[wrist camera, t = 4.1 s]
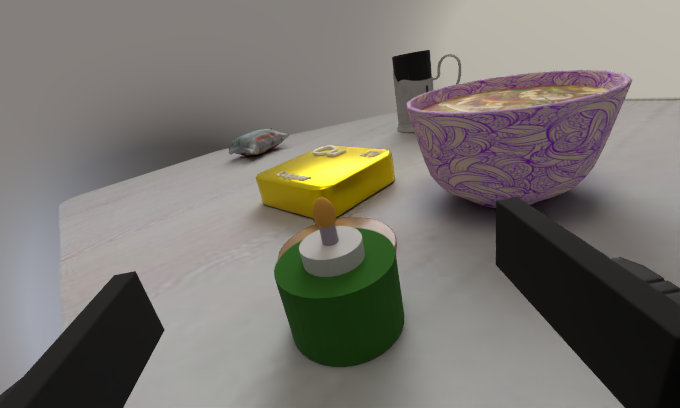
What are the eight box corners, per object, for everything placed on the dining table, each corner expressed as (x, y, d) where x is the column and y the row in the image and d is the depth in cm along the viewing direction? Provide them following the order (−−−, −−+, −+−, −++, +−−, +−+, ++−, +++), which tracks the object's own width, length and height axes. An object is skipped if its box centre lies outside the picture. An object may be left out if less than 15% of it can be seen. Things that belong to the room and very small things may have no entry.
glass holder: (406, 122, 82) (399, 54, 76) (468, 119, 74) (466, 43, 68) (390, 133, 75) (381, 59, 69) (456, 130, 67) (453, 47, 61)
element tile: (257, 203, 51) (248, 173, 49) (328, 168, 60) (323, 142, 58) (328, 224, 41) (320, 186, 39) (400, 178, 50) (397, 146, 48)
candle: (420, 349, 22) (403, 209, 18) (293, 379, 22) (247, 243, 18) (388, 275, 30) (371, 165, 26) (293, 297, 29) (261, 188, 25)
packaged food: (291, 144, 83) (286, 124, 81) (254, 161, 74) (247, 139, 72) (266, 144, 88) (261, 125, 86) (229, 160, 80) (222, 139, 78)
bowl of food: (479, 155, 52) (477, 75, 48) (647, 179, 37) (668, 63, 32) (381, 204, 43) (367, 110, 38) (551, 264, 27) (562, 117, 23)
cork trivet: (349, 211, 43) (349, 208, 43) (422, 243, 33) (422, 239, 33) (260, 253, 37) (259, 249, 37) (318, 306, 28) (316, 301, 28)
